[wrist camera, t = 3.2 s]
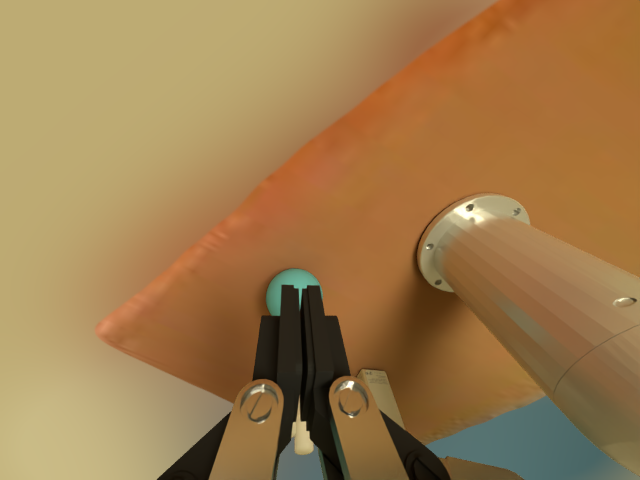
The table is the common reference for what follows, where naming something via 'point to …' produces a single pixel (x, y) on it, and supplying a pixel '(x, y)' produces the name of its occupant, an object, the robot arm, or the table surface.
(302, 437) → the pin
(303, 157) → the table surface
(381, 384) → the skincare box
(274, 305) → the ball
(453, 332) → the table surface
